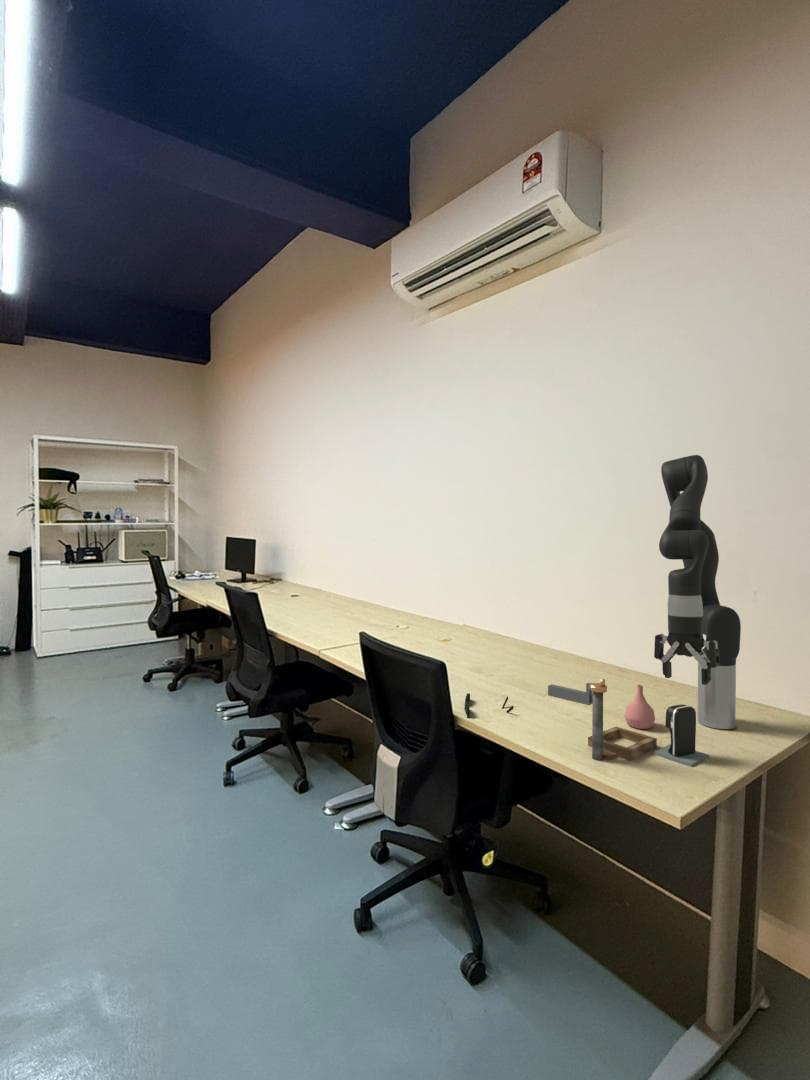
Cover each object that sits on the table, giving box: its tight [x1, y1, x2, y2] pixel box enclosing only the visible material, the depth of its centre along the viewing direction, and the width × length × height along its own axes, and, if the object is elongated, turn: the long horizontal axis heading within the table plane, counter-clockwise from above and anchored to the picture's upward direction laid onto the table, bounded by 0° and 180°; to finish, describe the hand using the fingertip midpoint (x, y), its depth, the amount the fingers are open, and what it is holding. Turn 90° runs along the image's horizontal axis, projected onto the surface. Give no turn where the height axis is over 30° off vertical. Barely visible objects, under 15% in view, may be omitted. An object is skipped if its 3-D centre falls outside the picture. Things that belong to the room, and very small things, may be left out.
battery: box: [664, 703, 697, 756], centre depth 133 cm, size 7×4×11 cm, turn 114°
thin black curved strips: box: [463, 692, 514, 719], centre depth 163 cm, size 17×14×5 cm
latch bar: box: [547, 678, 608, 706], centre depth 135 cm, size 15×4×7 cm, turn 43°
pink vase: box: [624, 684, 656, 730], centre depth 152 cm, size 8×8×12 cm
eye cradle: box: [587, 692, 658, 762], centre depth 136 cm, size 19×11×16 cm, turn 129°
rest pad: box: [653, 743, 710, 767], centre depth 133 cm, size 9×9×1 cm
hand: (686, 680), depth 132 cm, fingers open, 8 cm apart
